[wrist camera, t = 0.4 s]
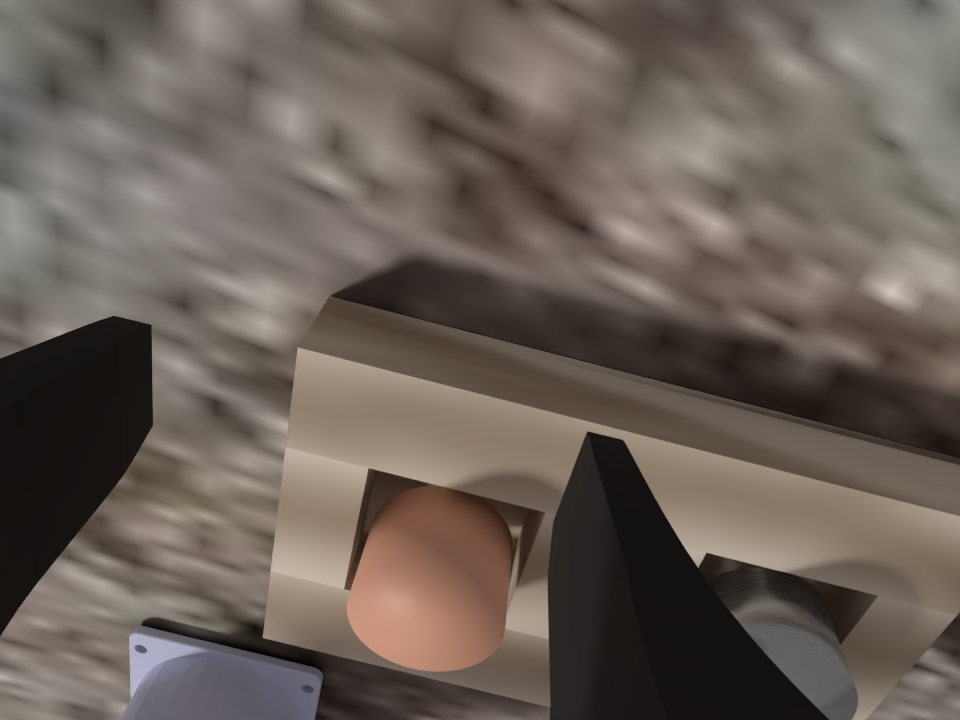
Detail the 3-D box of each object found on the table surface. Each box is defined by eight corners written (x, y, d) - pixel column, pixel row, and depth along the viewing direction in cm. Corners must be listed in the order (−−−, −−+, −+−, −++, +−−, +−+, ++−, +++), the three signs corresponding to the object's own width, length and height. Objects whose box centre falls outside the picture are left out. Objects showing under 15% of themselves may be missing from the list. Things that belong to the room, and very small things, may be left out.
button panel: (797, 696, 29) (819, 772, 26) (290, 571, 28) (262, 638, 26) (976, 462, 23) (1028, 533, 20) (329, 296, 22) (297, 347, 19)
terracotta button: (493, 604, 24) (484, 685, 22) (361, 572, 24) (337, 650, 22) (529, 507, 22) (523, 585, 20) (383, 470, 22) (359, 545, 19)
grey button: (787, 676, 25) (812, 765, 22) (659, 644, 25) (669, 730, 22) (853, 588, 22) (888, 676, 20) (711, 552, 22) (729, 636, 20)
